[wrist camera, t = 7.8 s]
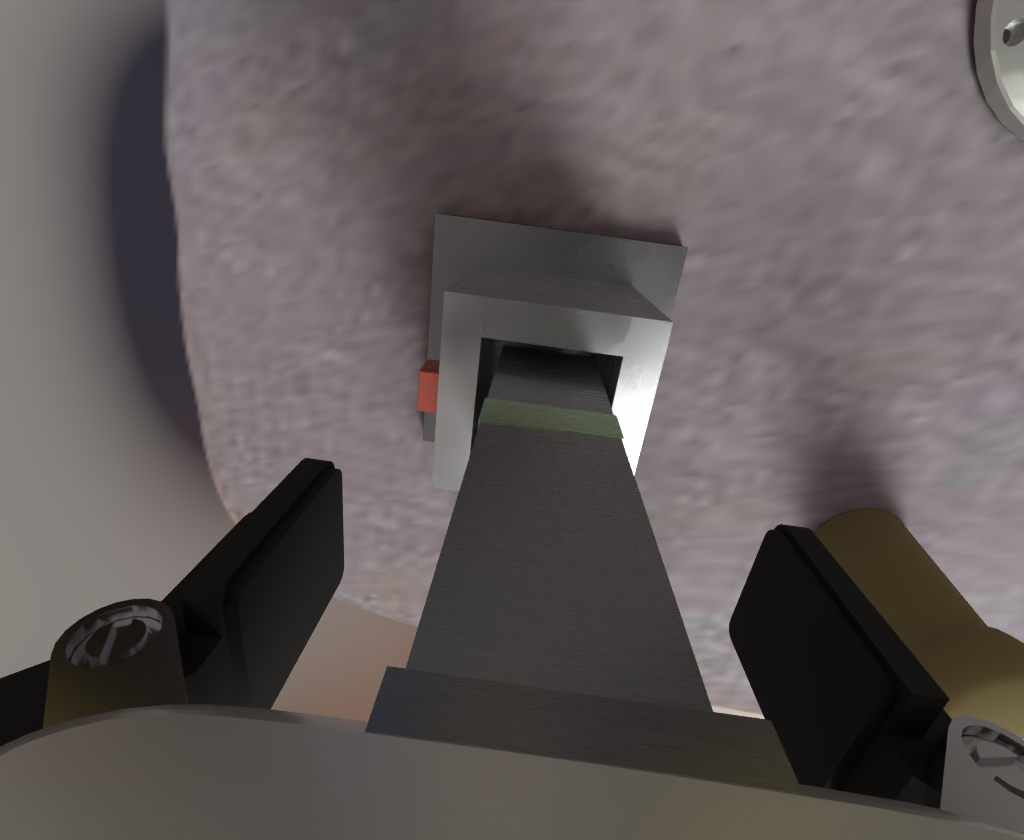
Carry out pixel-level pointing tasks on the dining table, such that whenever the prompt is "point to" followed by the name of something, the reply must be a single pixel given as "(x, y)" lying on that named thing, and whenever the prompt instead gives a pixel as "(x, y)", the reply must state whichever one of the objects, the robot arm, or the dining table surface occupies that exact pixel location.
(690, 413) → the dining table surface
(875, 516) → the olive knobbed figure
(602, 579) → the column
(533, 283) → the stand base
